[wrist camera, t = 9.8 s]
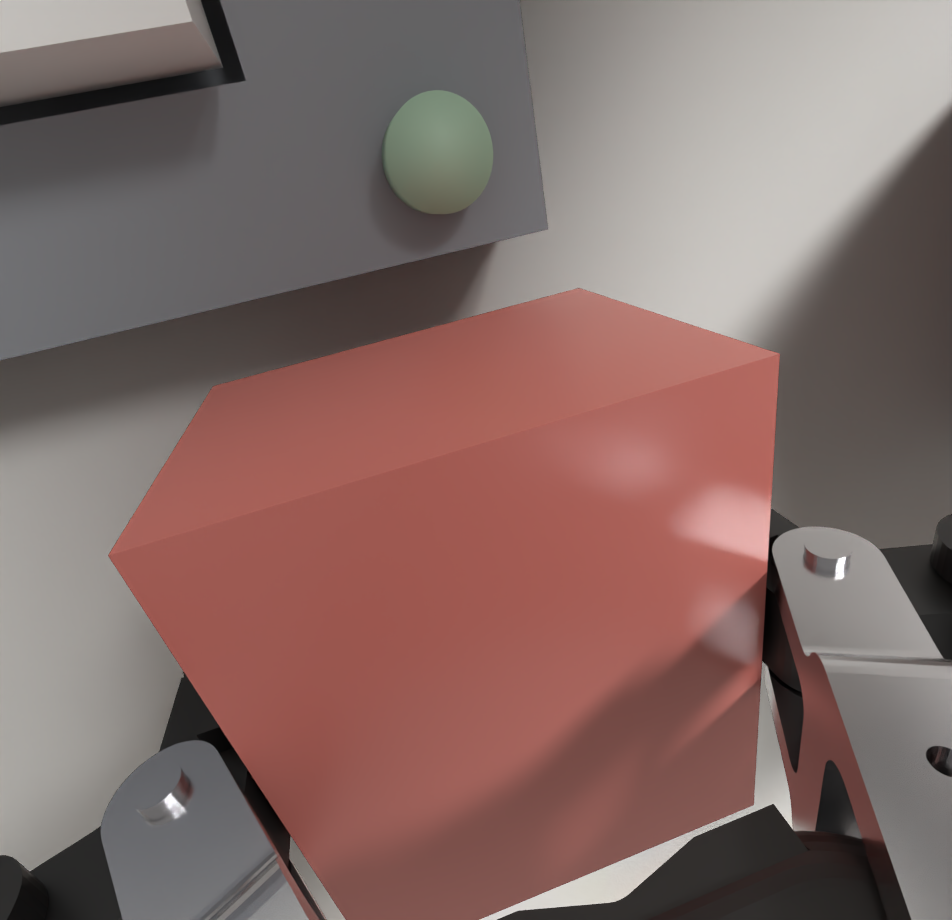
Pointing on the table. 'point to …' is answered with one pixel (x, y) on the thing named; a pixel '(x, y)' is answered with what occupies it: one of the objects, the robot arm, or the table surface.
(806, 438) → the table surface
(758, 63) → the table surface
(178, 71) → the block
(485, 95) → the breaker panel
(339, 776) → the cap
